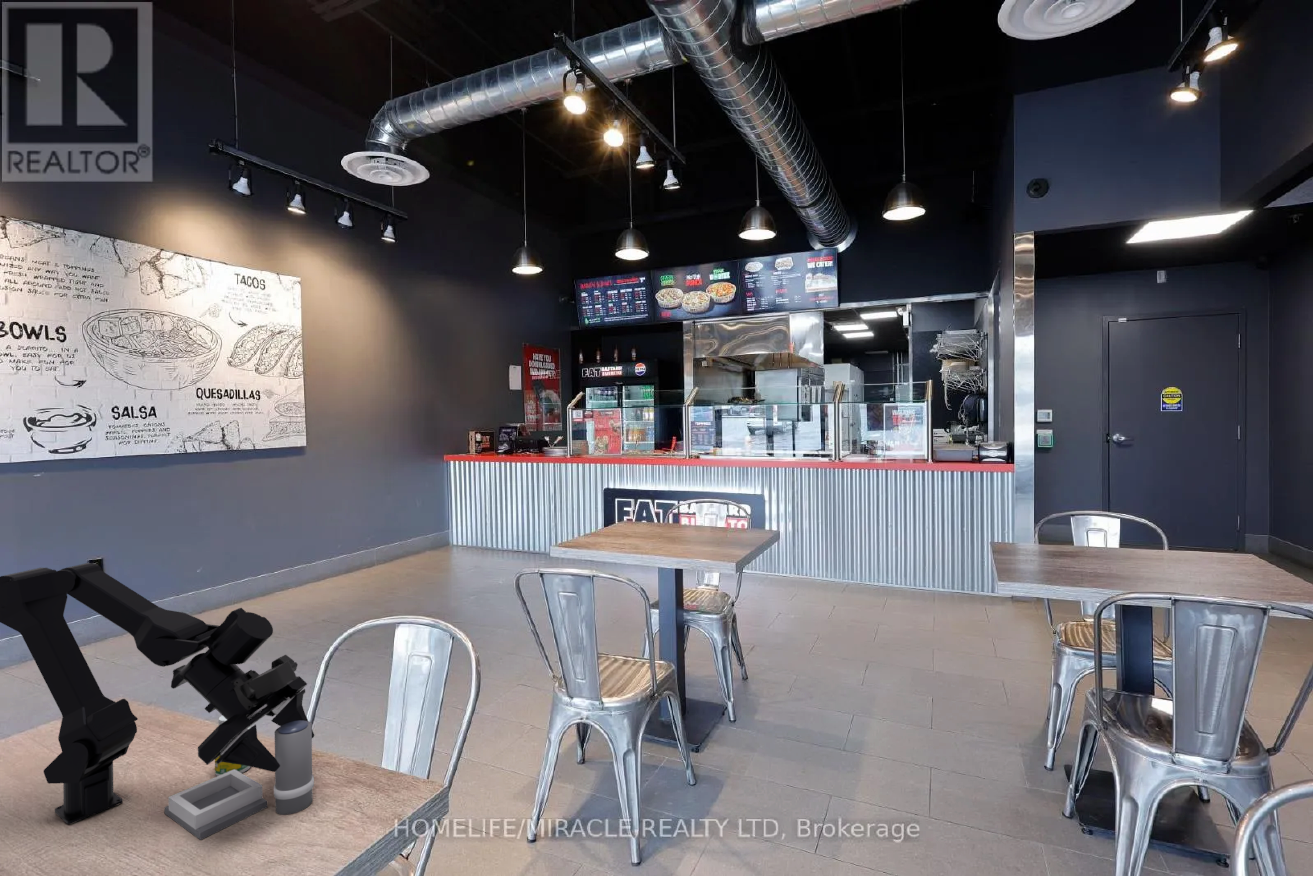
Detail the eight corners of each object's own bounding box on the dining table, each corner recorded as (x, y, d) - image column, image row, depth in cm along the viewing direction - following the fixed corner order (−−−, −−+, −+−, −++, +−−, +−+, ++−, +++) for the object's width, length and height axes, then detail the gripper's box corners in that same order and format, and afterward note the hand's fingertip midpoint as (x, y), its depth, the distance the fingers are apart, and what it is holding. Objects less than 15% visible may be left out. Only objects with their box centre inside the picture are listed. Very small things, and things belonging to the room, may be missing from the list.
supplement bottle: (252, 758, 109) (251, 705, 109) (252, 772, 105) (251, 716, 105) (215, 768, 106) (214, 713, 106) (213, 782, 102) (213, 725, 102)
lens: (267, 808, 94) (266, 729, 95) (302, 791, 99) (301, 715, 99) (285, 819, 92) (284, 737, 92) (321, 801, 96) (320, 723, 96)
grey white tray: (164, 813, 93) (164, 794, 93) (230, 784, 101) (229, 766, 101) (200, 840, 87) (200, 819, 87) (267, 807, 95) (267, 788, 95)
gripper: (217, 670, 86) (296, 746, 86) (294, 628, 105) (360, 691, 105) (162, 726, 86) (241, 803, 86) (249, 675, 105) (315, 737, 105)
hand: (295, 753), depth 95 cm, fingers open, 9 cm apart
